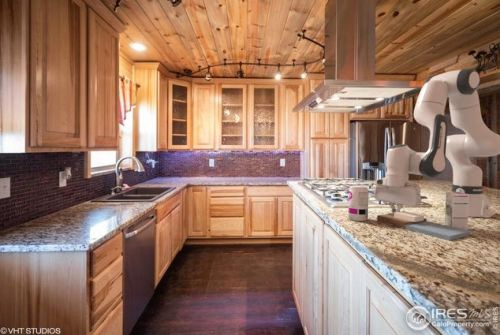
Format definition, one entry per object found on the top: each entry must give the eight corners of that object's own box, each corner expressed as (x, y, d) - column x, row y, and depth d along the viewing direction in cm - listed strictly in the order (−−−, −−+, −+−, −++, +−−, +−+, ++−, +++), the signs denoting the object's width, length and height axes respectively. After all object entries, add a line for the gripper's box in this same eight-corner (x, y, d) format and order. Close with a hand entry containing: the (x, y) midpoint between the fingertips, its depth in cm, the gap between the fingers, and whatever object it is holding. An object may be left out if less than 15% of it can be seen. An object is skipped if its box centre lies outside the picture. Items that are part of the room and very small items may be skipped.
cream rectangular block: (403, 215, 120) (403, 211, 120) (423, 220, 112) (424, 215, 111) (393, 217, 117) (394, 212, 117) (414, 222, 109) (414, 217, 109)
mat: (426, 224, 115) (426, 220, 115) (471, 234, 100) (471, 230, 100) (405, 228, 108) (405, 224, 108) (449, 240, 94) (449, 236, 94)
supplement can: (347, 220, 121) (348, 187, 120) (348, 216, 128) (349, 184, 128) (367, 222, 118) (368, 188, 117) (367, 218, 125) (368, 185, 124)
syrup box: (468, 231, 105) (470, 194, 104) (451, 230, 106) (452, 193, 105) (460, 227, 111) (461, 191, 110) (443, 226, 112) (445, 191, 111)
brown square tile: (397, 217, 126) (397, 212, 126) (426, 224, 115) (426, 218, 115) (376, 221, 120) (377, 215, 120) (405, 228, 108) (405, 222, 108)
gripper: (425, 184, 111) (424, 217, 112) (381, 179, 129) (380, 208, 130) (415, 185, 108) (414, 219, 109) (372, 180, 126) (371, 209, 127)
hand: (395, 213), depth 120 cm, fingers closed
